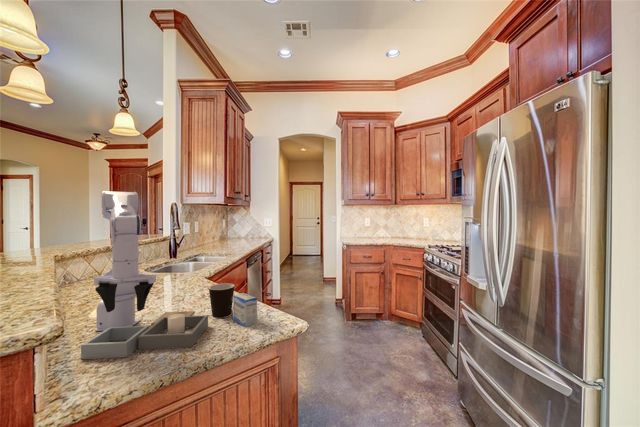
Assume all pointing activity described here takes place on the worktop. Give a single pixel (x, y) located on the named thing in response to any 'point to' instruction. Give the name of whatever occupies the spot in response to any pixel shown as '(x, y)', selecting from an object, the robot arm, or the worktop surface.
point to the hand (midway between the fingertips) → (125, 310)
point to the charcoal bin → (181, 340)
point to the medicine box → (245, 309)
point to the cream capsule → (176, 324)
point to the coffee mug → (221, 299)
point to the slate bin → (106, 349)
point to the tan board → (167, 314)
